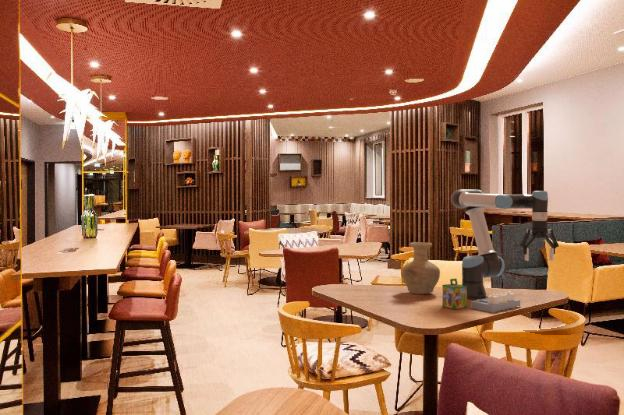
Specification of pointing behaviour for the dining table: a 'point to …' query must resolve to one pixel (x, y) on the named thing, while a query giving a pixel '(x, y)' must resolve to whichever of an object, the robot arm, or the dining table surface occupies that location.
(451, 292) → the chalk box
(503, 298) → the tab
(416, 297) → the dining table surface
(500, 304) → the switch bank
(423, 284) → the vase
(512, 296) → the tab
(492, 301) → the tab
